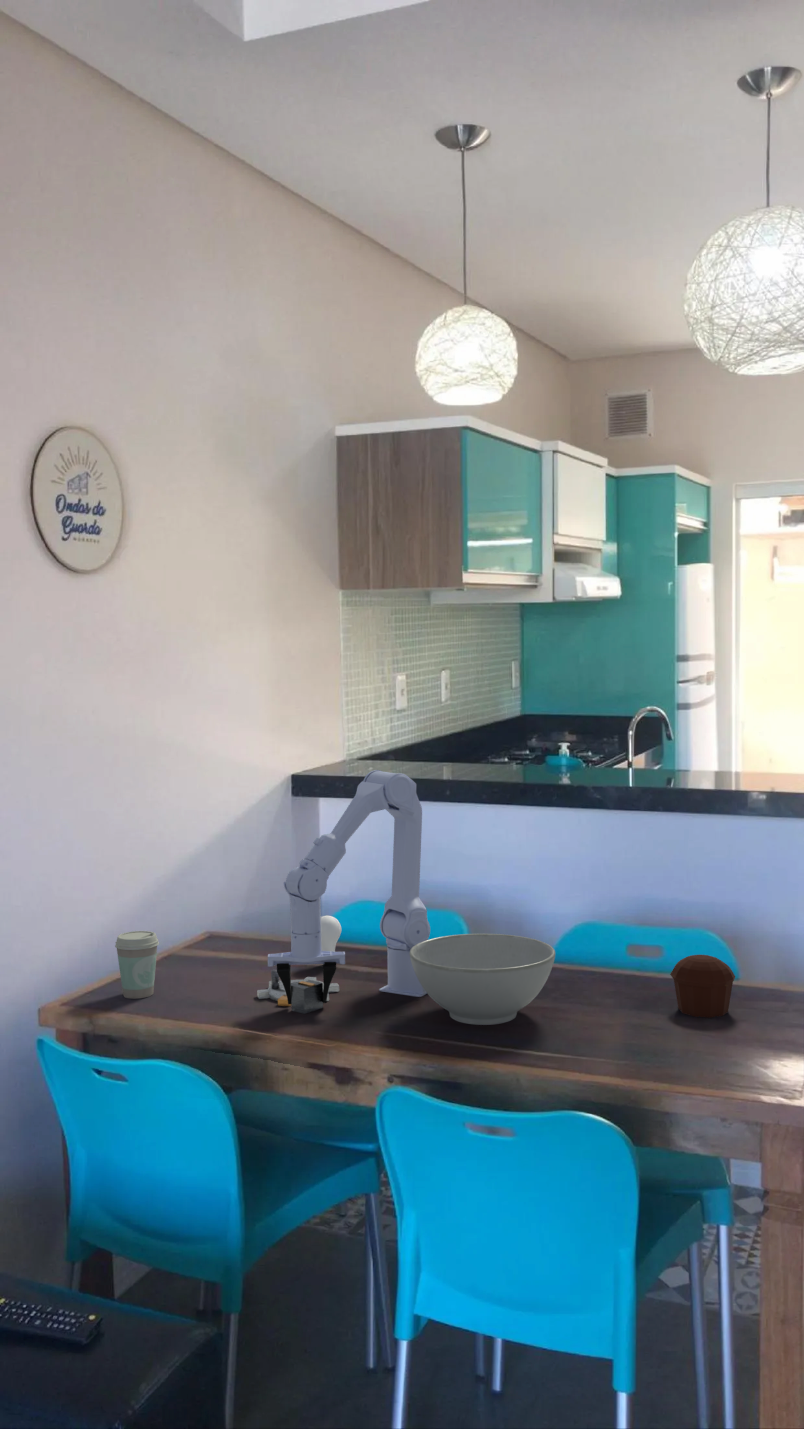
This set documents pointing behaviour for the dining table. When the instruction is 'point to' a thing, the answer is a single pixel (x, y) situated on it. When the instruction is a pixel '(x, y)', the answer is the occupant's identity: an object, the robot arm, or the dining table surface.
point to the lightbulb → (329, 933)
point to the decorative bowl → (482, 974)
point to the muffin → (703, 986)
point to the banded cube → (307, 996)
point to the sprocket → (278, 990)
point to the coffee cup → (137, 962)
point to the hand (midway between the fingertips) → (307, 1002)
